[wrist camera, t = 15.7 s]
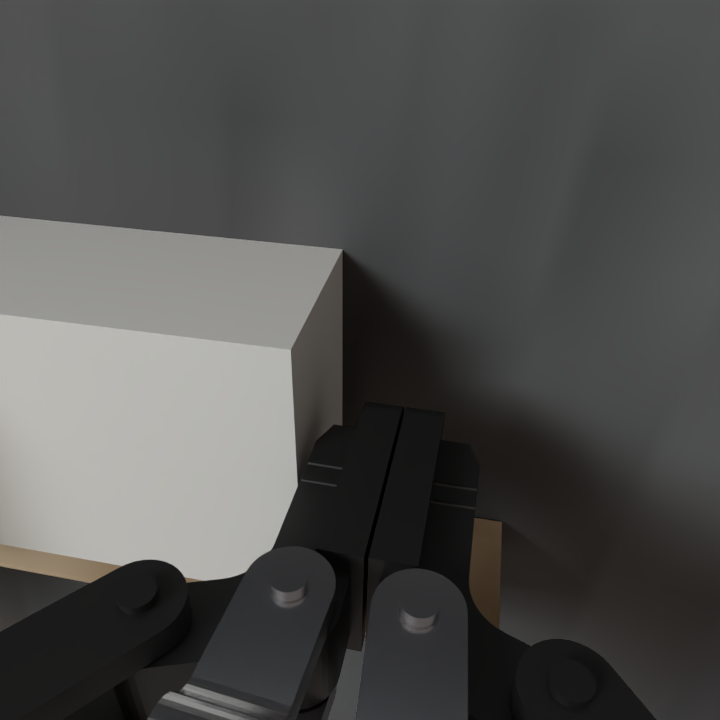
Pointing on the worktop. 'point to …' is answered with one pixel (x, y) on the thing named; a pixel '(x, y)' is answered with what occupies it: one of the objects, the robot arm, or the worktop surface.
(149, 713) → the robot arm
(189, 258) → the off-white matte block
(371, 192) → the worktop surface
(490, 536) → the row of books
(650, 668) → the worktop surface
